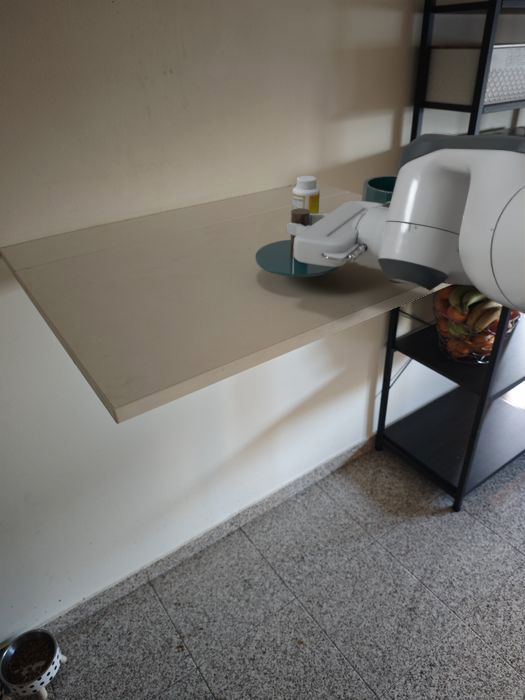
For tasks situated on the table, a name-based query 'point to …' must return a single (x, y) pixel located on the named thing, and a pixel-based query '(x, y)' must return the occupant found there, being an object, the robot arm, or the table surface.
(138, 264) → the table surface
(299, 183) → the supplement bottle
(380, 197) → the pot
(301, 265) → the lid
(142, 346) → the table surface
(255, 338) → the table surface
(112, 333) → the table surface
